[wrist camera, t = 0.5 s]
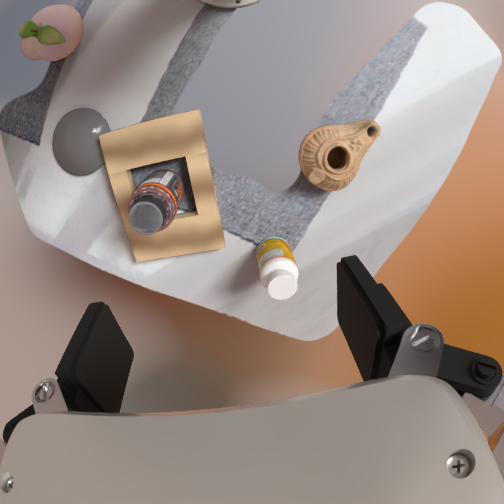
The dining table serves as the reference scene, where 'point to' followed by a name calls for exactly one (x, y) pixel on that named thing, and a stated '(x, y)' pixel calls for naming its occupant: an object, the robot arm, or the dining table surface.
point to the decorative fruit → (51, 33)
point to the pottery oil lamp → (336, 153)
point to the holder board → (156, 150)
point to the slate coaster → (80, 141)
